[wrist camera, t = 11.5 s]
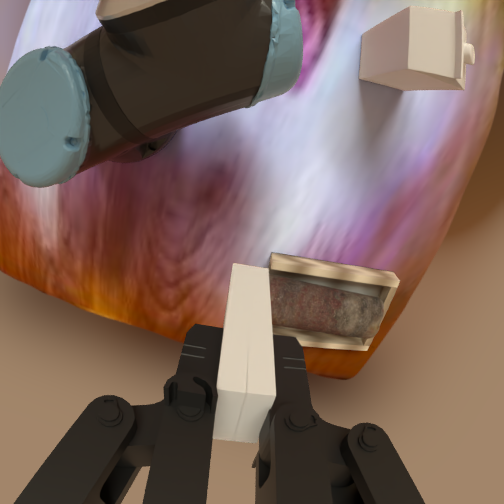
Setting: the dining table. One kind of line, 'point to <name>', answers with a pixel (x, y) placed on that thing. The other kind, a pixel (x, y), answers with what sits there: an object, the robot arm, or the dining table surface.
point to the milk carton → (417, 51)
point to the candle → (323, 308)
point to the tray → (338, 278)
